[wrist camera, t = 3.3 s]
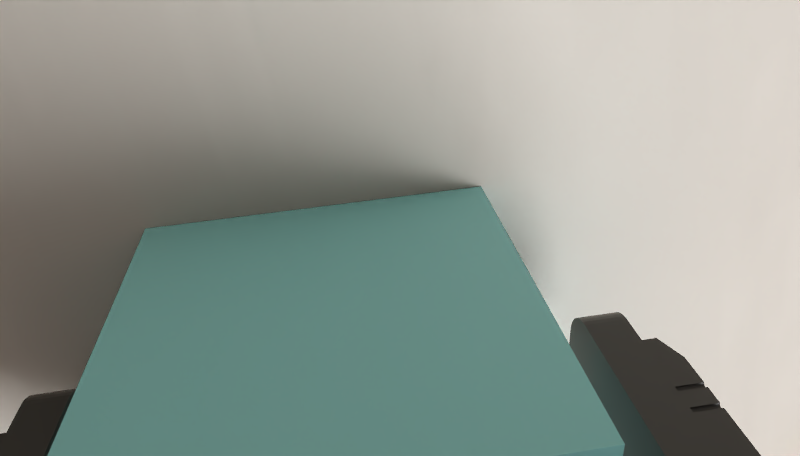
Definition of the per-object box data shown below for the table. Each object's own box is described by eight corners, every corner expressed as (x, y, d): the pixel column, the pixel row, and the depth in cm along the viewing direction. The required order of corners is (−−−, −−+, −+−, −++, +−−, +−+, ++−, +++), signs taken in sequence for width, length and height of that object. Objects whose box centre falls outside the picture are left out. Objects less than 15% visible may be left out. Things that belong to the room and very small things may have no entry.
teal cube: (146, 226, 10) (9, 545, 5) (479, 184, 10) (625, 444, 6) (220, 454, 13) (173, 795, 8) (480, 413, 13) (578, 714, 9)
